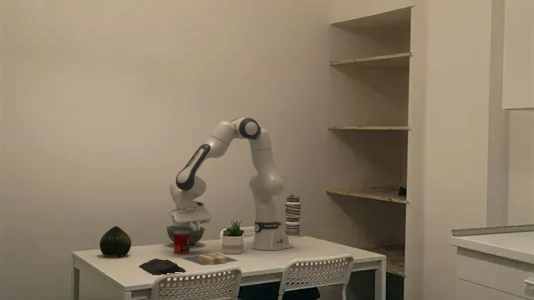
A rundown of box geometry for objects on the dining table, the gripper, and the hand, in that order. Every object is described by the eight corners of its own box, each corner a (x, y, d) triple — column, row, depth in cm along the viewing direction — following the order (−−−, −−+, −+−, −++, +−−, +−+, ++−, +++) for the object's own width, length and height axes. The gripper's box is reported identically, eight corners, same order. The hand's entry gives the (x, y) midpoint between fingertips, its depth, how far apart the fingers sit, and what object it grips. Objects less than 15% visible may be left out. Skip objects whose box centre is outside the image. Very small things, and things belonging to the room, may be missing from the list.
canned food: (183, 255, 314) (183, 233, 314) (170, 253, 318) (170, 231, 318) (192, 253, 321) (192, 231, 320) (180, 251, 325) (180, 230, 324)
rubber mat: (216, 254, 317) (216, 253, 317) (238, 261, 301) (239, 260, 301) (181, 258, 306) (181, 258, 306) (202, 266, 290) (202, 265, 290)
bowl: (159, 244, 345) (159, 225, 345) (194, 241, 357) (194, 223, 356) (176, 250, 328) (176, 230, 328) (211, 246, 339) (212, 228, 339)
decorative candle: (288, 237, 372) (288, 195, 372) (282, 235, 381) (283, 193, 381) (302, 237, 375) (303, 194, 375) (296, 234, 384) (297, 193, 384)
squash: (111, 249, 298) (126, 223, 307) (89, 247, 306) (104, 221, 315) (128, 265, 307) (142, 239, 316) (106, 263, 315) (120, 238, 324)
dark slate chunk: (168, 264, 295) (168, 254, 295) (187, 273, 276) (187, 262, 276) (136, 267, 287) (136, 257, 287) (154, 277, 268) (154, 266, 268)
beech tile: (212, 253, 305) (226, 257, 295) (212, 258, 305) (226, 262, 296) (198, 255, 300) (211, 259, 291) (198, 260, 300) (211, 264, 291)
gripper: (170, 206, 309) (180, 228, 302) (206, 202, 321) (217, 224, 314) (166, 214, 313) (176, 236, 305) (202, 210, 325) (212, 232, 318)
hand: (197, 230), depth 310 cm, fingers closed
